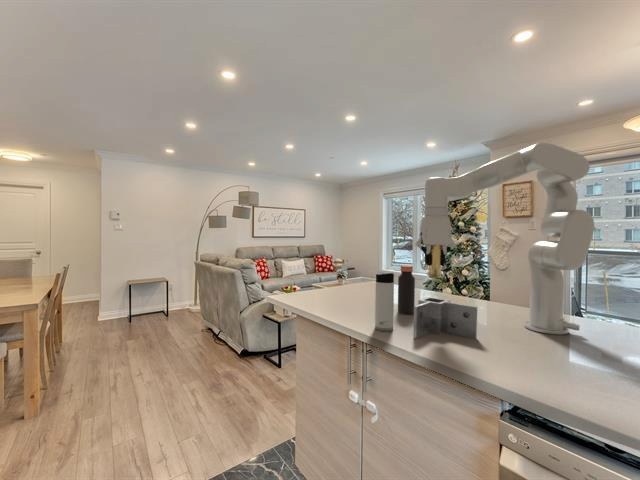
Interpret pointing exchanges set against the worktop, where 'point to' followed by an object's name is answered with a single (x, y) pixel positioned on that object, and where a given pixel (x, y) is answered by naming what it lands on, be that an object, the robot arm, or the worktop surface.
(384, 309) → the travel mug
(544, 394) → the worktop surface
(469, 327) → the hinge
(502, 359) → the worktop surface
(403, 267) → the bottle
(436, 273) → the hinge pin
